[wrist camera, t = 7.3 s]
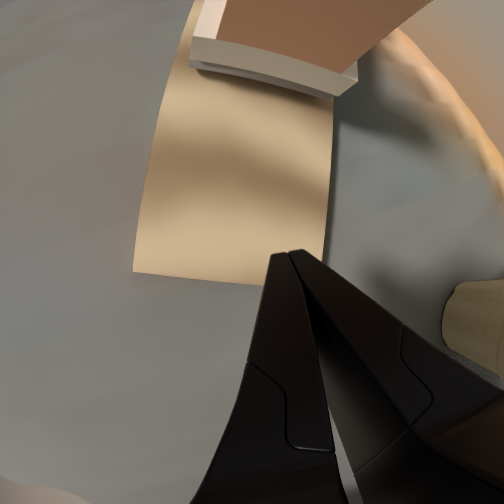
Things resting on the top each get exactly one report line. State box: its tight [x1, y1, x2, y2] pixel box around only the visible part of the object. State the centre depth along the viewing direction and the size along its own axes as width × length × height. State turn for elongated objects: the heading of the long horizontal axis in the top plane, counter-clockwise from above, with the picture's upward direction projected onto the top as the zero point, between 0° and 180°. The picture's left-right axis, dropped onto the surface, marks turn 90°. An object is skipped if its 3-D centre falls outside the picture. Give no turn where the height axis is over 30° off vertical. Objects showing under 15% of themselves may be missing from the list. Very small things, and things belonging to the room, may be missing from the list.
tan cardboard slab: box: [133, 0, 334, 286], centre depth 13 cm, size 23×10×6 cm, turn 173°
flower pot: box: [442, 279, 504, 381], centre depth 18 cm, size 9×9×9 cm
